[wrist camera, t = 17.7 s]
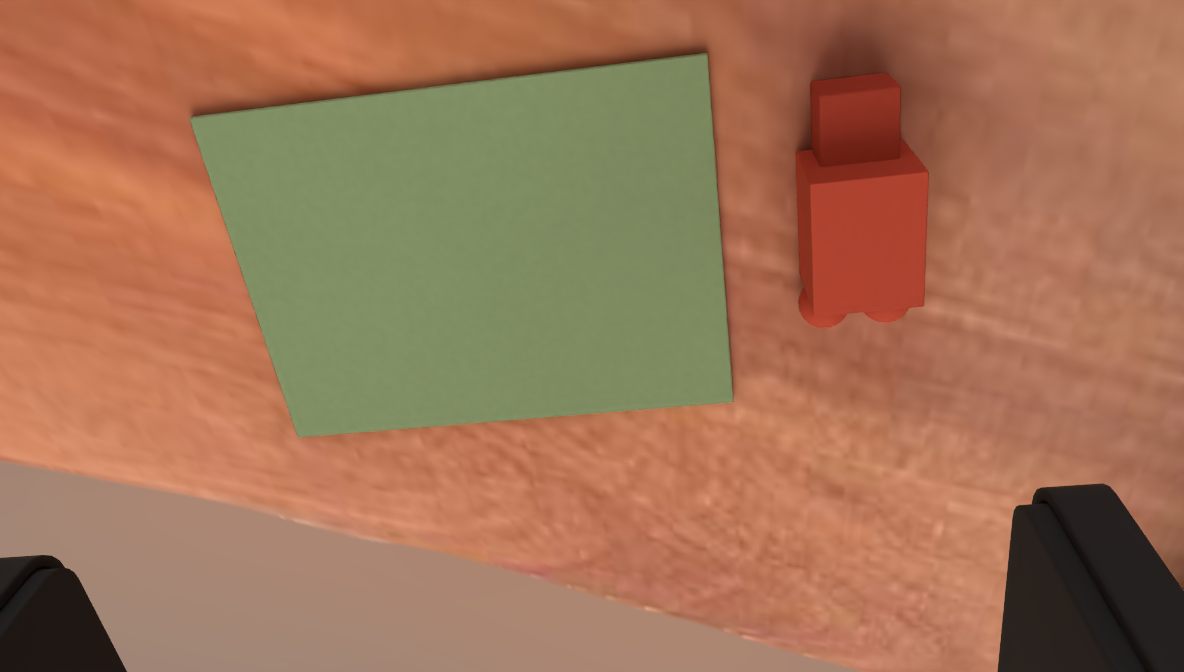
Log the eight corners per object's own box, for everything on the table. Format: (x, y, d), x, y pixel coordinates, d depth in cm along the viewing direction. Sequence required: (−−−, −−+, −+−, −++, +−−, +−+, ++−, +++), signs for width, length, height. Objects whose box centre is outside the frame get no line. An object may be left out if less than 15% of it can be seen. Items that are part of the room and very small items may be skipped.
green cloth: (192, 116, 36) (188, 118, 36) (707, 52, 34) (707, 54, 34) (299, 433, 43) (297, 437, 43) (732, 398, 41) (733, 402, 41)
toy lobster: (787, 83, 34) (801, 110, 31) (910, 68, 34) (938, 94, 31) (796, 315, 39) (809, 361, 36) (904, 305, 38) (928, 351, 35)
